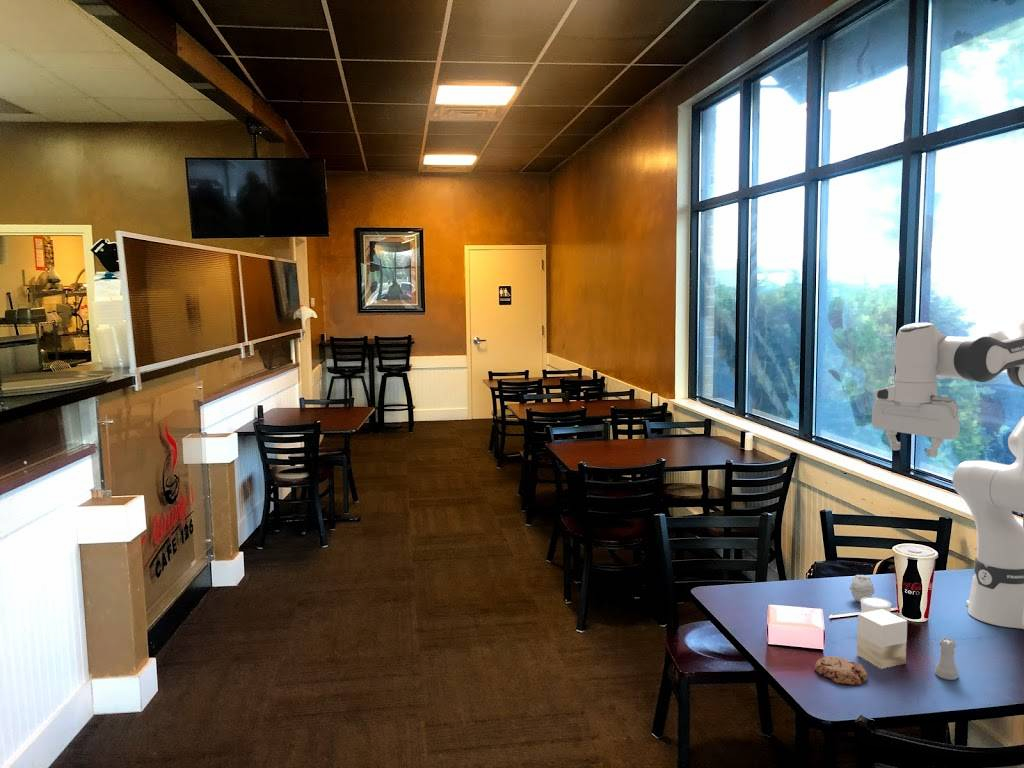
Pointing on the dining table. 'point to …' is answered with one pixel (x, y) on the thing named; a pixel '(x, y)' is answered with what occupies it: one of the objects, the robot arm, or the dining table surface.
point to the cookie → (841, 670)
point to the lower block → (881, 653)
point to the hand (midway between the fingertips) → (913, 453)
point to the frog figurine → (861, 587)
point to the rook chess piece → (947, 660)
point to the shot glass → (874, 604)
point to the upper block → (882, 628)
